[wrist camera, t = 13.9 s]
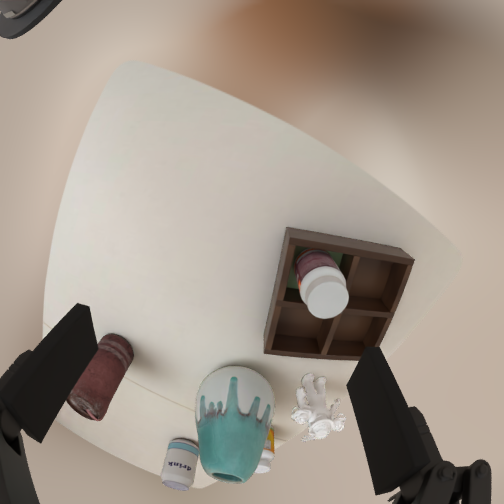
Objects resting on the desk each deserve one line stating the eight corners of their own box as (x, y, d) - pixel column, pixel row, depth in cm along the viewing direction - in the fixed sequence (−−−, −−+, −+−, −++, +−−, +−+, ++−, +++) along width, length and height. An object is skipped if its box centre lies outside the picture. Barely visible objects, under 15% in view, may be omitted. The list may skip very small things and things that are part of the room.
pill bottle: (285, 263, 32) (292, 299, 24) (317, 238, 31) (335, 267, 23) (309, 290, 33) (321, 330, 25) (339, 267, 32) (361, 302, 24)
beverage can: (201, 441, 48) (193, 485, 37) (198, 452, 50) (190, 493, 39) (170, 433, 47) (158, 477, 36) (170, 445, 50) (159, 485, 39)
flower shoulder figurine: (283, 380, 40) (287, 442, 28) (297, 364, 38) (305, 428, 27) (328, 393, 41) (340, 450, 30) (342, 379, 40) (358, 437, 28)
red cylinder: (127, 367, 40) (96, 427, 27) (98, 344, 39) (59, 401, 26) (142, 350, 39) (108, 416, 26) (110, 326, 37) (67, 386, 24)
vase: (207, 401, 42) (190, 488, 25) (196, 354, 38) (167, 456, 22) (273, 402, 42) (275, 493, 25) (274, 355, 38) (279, 463, 21)
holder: (286, 226, 31) (289, 237, 27) (400, 248, 32) (415, 259, 28) (263, 335, 37) (263, 353, 33) (364, 344, 37) (372, 361, 33)
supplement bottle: (267, 437, 46) (267, 476, 37) (242, 432, 46) (239, 472, 37) (278, 425, 44) (279, 466, 35) (251, 419, 44) (249, 462, 35)
